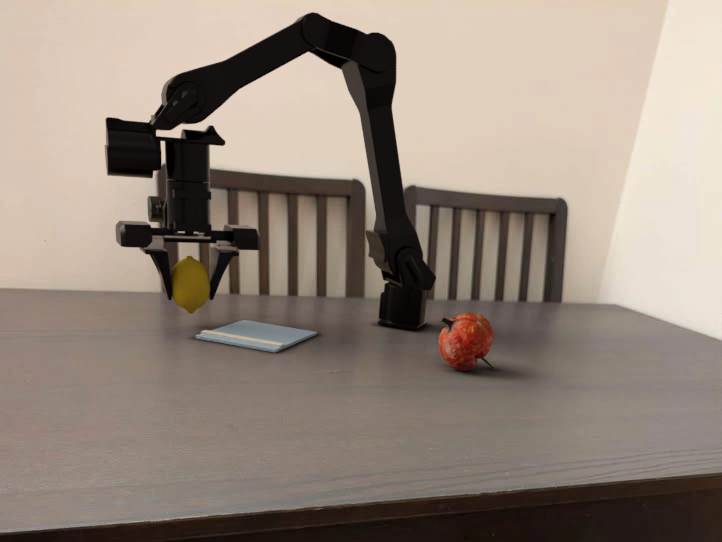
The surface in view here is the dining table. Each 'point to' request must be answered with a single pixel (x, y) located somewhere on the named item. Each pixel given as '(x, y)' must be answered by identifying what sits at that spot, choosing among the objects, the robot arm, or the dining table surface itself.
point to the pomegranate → (465, 340)
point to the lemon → (190, 284)
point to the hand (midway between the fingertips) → (190, 299)
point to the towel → (256, 335)
